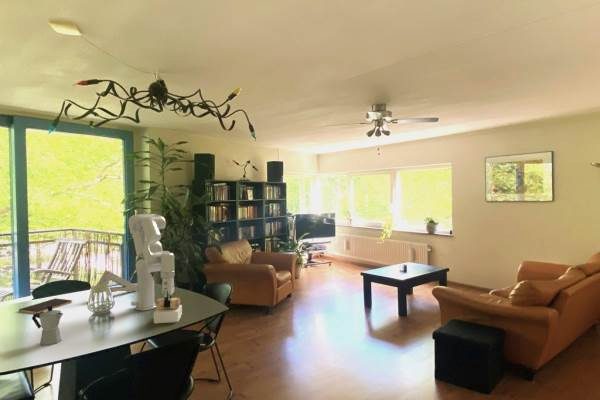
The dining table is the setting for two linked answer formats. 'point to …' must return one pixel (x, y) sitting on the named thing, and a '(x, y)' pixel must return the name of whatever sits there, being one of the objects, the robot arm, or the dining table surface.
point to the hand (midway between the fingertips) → (168, 305)
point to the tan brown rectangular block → (173, 304)
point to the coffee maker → (49, 326)
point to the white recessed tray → (167, 315)
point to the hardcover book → (45, 305)
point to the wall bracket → (124, 283)
